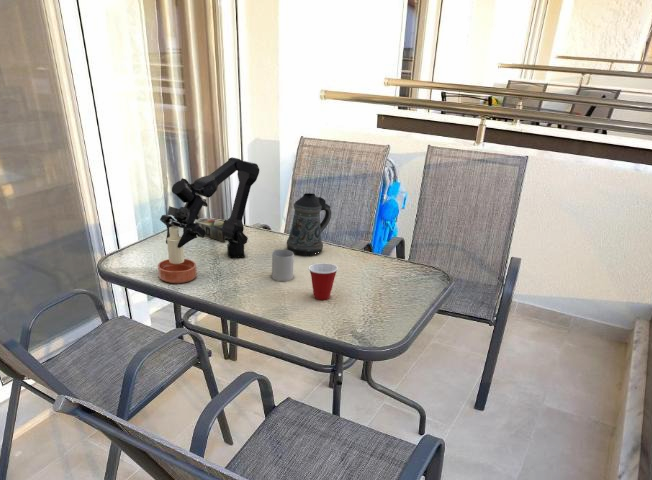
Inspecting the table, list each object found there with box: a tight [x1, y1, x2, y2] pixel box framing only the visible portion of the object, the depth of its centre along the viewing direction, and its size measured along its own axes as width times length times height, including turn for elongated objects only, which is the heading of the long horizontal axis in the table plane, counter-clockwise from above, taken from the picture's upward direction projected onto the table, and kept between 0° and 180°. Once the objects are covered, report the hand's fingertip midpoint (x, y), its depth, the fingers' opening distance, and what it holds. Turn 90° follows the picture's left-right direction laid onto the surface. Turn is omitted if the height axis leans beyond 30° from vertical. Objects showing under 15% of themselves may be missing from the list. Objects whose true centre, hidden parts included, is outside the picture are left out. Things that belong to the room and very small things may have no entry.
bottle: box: [166, 227, 185, 264], centre depth 190 cm, size 6×6×13 cm
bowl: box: [157, 258, 198, 284], centre depth 195 cm, size 14×14×5 cm
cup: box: [271, 249, 295, 282], centre depth 200 cm, size 8×8×10 cm
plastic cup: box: [308, 262, 339, 301], centre depth 186 cm, size 11×11×12 cm
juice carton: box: [194, 217, 226, 243], centre depth 239 cm, size 20×10×6 cm, turn 54°
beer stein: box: [286, 192, 332, 257], centre depth 225 cm, size 16×19×25 cm
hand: (172, 245), depth 189 cm, fingers closed on bottle, 6 cm apart
